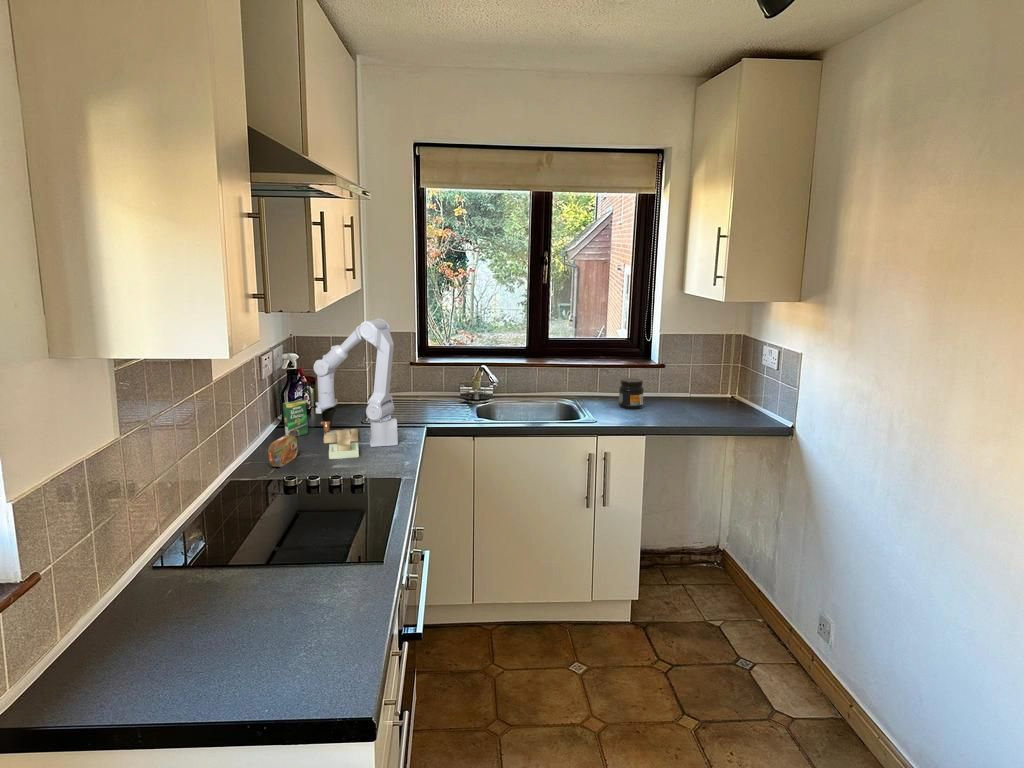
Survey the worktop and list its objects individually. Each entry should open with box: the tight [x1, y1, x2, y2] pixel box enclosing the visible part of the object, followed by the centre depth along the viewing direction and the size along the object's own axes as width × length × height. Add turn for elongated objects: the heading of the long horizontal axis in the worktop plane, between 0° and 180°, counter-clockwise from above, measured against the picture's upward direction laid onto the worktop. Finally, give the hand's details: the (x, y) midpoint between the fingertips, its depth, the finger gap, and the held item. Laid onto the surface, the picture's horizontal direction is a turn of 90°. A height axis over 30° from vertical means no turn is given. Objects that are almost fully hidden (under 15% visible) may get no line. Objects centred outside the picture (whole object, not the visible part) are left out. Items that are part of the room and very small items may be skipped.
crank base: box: [323, 428, 359, 444], centre depth 250 cm, size 12×11×2 cm
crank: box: [320, 420, 352, 435], centre depth 248 cm, size 11×3×5 cm, turn 101°
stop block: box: [336, 430, 351, 451], centre depth 231 cm, size 4×4×7 cm
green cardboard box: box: [282, 398, 309, 438], centre depth 251 cm, size 8×3×13 cm, turn 133°
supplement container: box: [618, 377, 645, 410], centre depth 295 cm, size 10×10×12 cm
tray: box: [328, 442, 360, 460], centre depth 231 cm, size 10×10×2 cm
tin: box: [267, 434, 299, 468], centre depth 221 cm, size 15×3×8 cm, turn 168°
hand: (327, 427), depth 249 cm, fingers closed
